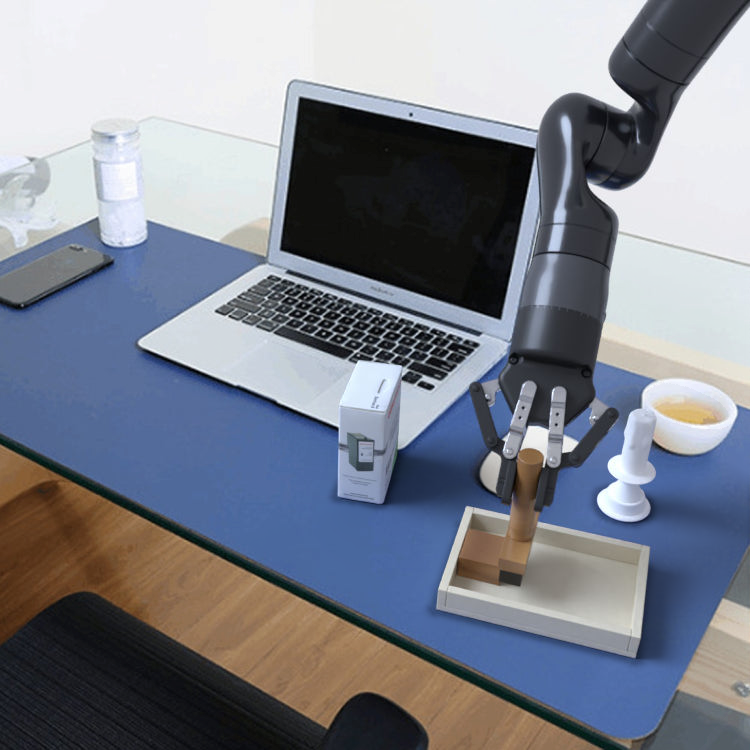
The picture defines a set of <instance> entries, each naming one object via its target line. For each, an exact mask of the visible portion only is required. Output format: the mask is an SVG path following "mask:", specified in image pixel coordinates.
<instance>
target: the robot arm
mask: <svg viewBox="0 0 750 750" xmlns="http://www.w3.org/2000/svg"><path fill="white" fill-rule="evenodd" d="M749 9H750V0H646V2H645V3H644V4H643V5H642V7H641V9H640V10H639V12H638V13H637V15H635V17H634V19H633V21H632V22H631V23H630V24H629V26H628V27H627V28H626V31H624V34H623V35H622V36H621V38H620V39H619V41H618V42H617V43H616V45H615V47H614V48H613V50H612V51H611V54H610V56H609V58H608V62H607V70H608V73H609V76H610V78H611V80H612V81H613V82H614V83H615V85H616V86H617V87H618V88H619V89H620V90H621V91H622V92H624V93H625V94H626V95H627V96H628V97H630V98H631V99H632V100H633V103H632V105H631V106H630V107H629V109H628V110H627V111H626V110H623V109H621V108H618V107H617V106H614V105H612V104H609V103H607V102H604V101H602V100H599V99H597V98H595V97H593V96H590V95H588V94H586V93H582V92H568V93H564V94H562V95H561V96H559V97H557V98H556V99H555V100H554V101H552V103H551V104H550V105H549V106H548V108H547V109H546V111H545V113H543V116H542V117H541V120H540V123H539V127H538V129H537V136H536V145H535V157H536V169H537V178H538V179H537V182H538V200H539V201H538V202H539V221H538V223H539V224H538V228H537V232H536V237H535V242H534V245H533V251H532V255H531V260H530V264H529V267H528V270H527V273H526V276H525V277H524V278H525V279H524V281H523V285H522V291H521V294H520V299H519V305H518V309H517V314H516V318H515V323H514V328H513V333H512V337H511V342H510V348H509V353H508V357H507V361H506V364H505V366H503V368H502V369H501V371H500V372H499V374H498V376H497V378H495V379H494V378H493V379H492V380H488V381H484V382H479V381H473V382H471V383H470V384H469V386H468V392H469V396H470V398H471V402H472V405H473V409H474V412H475V416H476V420H477V423H478V427H479V430H480V433H481V436H482V440H483V444H484V445H485V447H486V448H487V450H489V451H492V452H493V453H495V454H496V455H497V456H499V457H500V465H499V471H498V475H497V481H496V484H495V493H496V496H497V497H498V498H501V499H500V500H501V501H500V504H501V505H503V506H507V507H511V504H512V496H513V490H514V483H515V475H516V468H517V458H518V453H519V452H520V451H521V450H522V447H523V443H524V441H525V438H526V436H527V433H528V429H529V427H537V426H538V427H541V428H543V429H545V430H548V433H547V448H546V458H545V463H544V466H543V467H542V470H541V475H540V480H539V485H538V490H537V495H536V500H535V505H534V511H535V512H540V514H543V511H544V507H546V508H550V507H551V506H552V504H553V503H554V499H555V494H556V488H557V482H558V478H559V474H560V473H561V472H562V471H563V470H565V469H572V468H573V469H578V468H581V467H582V466H583V465H584V463H585V462H586V461H587V460H588V458H589V457H590V456H591V455H592V453H593V452H594V451H595V450H596V448H597V447H598V446H600V444H601V442H602V441H603V440H604V439H605V438H606V437H607V435H608V434H609V433H610V432H611V430H612V429H613V428H614V427H615V425H616V424H617V423H618V421H619V417H620V412H619V410H618V409H617V408H615V407H611V406H609V405H607V404H606V403H605V402H604V401H602V400H601V399H599V398H598V397H597V396H596V395H597V391H596V387H595V385H594V375H595V369H596V366H597V365H596V364H597V359H598V353H599V349H600V344H601V339H602V334H603V328H604V323H605V321H606V318H607V307H608V303H609V297H610V296H609V294H610V277H611V272H612V266H613V260H614V255H615V250H616V246H617V240H618V235H619V229H620V228H619V226H620V220H619V216H618V215H617V213H616V211H615V210H614V209H613V208H612V207H611V206H610V205H609V204H607V203H606V202H605V201H603V200H602V199H601V198H600V197H598V195H596V194H595V193H594V192H593V191H592V189H591V188H590V186H589V184H591V185H593V186H595V187H597V188H600V189H603V190H607V191H610V192H621V191H623V190H626V189H628V188H631V187H632V186H634V185H635V184H637V183H638V182H639V181H641V180H642V179H643V178H644V177H645V175H646V174H647V172H648V171H649V170H650V168H651V166H652V164H653V161H654V159H655V156H656V154H657V151H658V150H659V147H660V144H661V142H662V139H663V136H664V135H665V132H666V130H667V128H668V125H669V123H670V121H671V119H672V117H673V114H674V112H675V110H676V107H678V104H679V101H680V100H681V98H682V95H683V94H684V92H685V91H686V90H687V89H688V87H689V85H691V83H692V82H693V80H694V79H695V78H696V77H697V75H698V74H699V73H700V72H701V70H702V69H703V68H704V66H705V65H706V64H707V62H708V61H709V60H710V58H711V57H712V56H713V55H714V54H715V52H716V51H717V50H718V48H719V47H720V46H721V45H722V43H723V42H724V40H725V39H726V38H727V36H728V35H729V34H730V32H732V30H733V29H734V28H735V26H736V25H737V24H738V22H739V21H740V20H741V19H742V18H743V16H744V15H745V14H746V12H747V11H748V10H749ZM500 391H501V393H502V395H503V398H504V400H505V402H506V404H507V406H508V408H509V411H510V414H511V415H512V419H511V421H510V425H509V429H508V433H507V437H506V439H505V440H504V439H502V438H500V437H499V435H498V432H497V429H496V424H495V422H494V419H493V415H492V411H491V409H490V407H494V405H496V402H497V394H498V393H499V392H500ZM588 408H590V411H591V413H590V415H589V417H588V418H589V419H588V423H589V425H590V426H591V427H590V429H589V430H588V431H587V432H586V433H585V435H584V436H583V437H582V438H581V439H580V440H579V442H578V443H577V444H576V446H575V447H574V448H573V449H572V450H571V451H566V452H565V451H564V452H563V446H564V436H565V429H566V428H567V427H568V426H570V424H572V423H573V422H574V421H575V420H577V418H578V417H580V416H581V415H582V414H583V413H584V412H585V411H586V410H587V409H588Z"/></svg>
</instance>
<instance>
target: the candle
mask: <svg viewBox="0 0 750 750" xmlns="http://www.w3.org/2000/svg"><path fill="white" fill-rule="evenodd" d="M656 425H657V416H656V414H655V412H654V411H653V410H650V409H647V408H637V409H634V410H632V411H631V412H630V413H629V415H628V418H627V422H626V426H625V428H624V431H623V436H624V440H623V445H622V450H621V454H616V455H615V456H613V457H611V458H610V459H609V460H608V463H607V469H608V471H609V473H610V475H612V477H613V478H615V479H617V480H615V481H614V482H612V483H610V484H609V485H608V486H607V487H606V488H604V489H602V490H601V491H600V492H599V493H598V494H597V498H596V502H597V506H598V507H599V509H600V510H601V512H602V513H604V514H605V515H606V516H608V517H609V518H611V519H613V520H616V521H619V522H625V523H634V522H640V521H642V520H644V519H646V518H647V517H648V516H649V515H650V512H651V504H650V502H649V500H648V498H647V497H646V494H645V491H644V490H643V489H642V487H641V485H646V484H649V483H651V482H652V481H653V480H654V479H655V478H656V474H657V472H656V468H655V466H654V465H653V464H652V463H651V462H650V461H649V455H650V452H651V447H652V444H653V439H654V434H655V431H656V427H657V426H656Z"/></svg>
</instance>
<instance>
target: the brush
mask: <svg viewBox="0 0 750 750" xmlns="http://www.w3.org/2000/svg"><path fill="white" fill-rule="evenodd" d="M544 461H545V456H544V454H543V452H542V451H540V450H538V449H536V448H533V447H526V448H523V449H522V448H521V450H520V452H519V453H518V458H517V468H516V475H515V483H514V490H513V495H512V500H511V505H510V511H509V515H510V519H509V526H508V529H507V533H506V536H505V539H504V543H503V546H502V549H501V552H500V556H499V561H498V569H500V572H499V580H498V582H502V583H506V584H510V585H514V586H518V587H520V586H521V583H522V579H523V575H524V574H525V571H526V567H527V563H528V560H529V556H530V552H531V548H532V545H533V541H534V537H535V533H536V530H537V526H538V522H540V515H541V513H540V512H535V511H534V505H535V500H536V495H537V490H538V485H539V480H540V475H541V470H542V467H544Z"/></svg>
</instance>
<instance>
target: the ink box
mask: <svg viewBox="0 0 750 750" xmlns="http://www.w3.org/2000/svg"><path fill="white" fill-rule="evenodd" d="M402 377H403V365H399V364H392V363H384V362H377V361H371V360H362V359H359V360H357V362H356V364H355V366H354V369H353V371H352V374H351V376H350V378H349V381H348V383H347V384H346V387H345V389H344V392H343V394H342V396H341V398H340V402H339V404H338V459H337V460H338V461H337V497H338V498H342V499H348V500H353V501H358V502H365V503H371V504H377V505H382V504H383V503H384V502H385V500H386V499H385V498H386V496H387V492H388V488H389V486H390V485H389V484H390V481H391V477H392V474H393V471H394V467H395V465H396V464H395V463H396V461H397V456H398V447H399V445H398V444H399V434H400V433H399V432H400V431H399V430H400V416H401V415H400V413H401V396H402V379H403V378H402Z"/></svg>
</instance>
